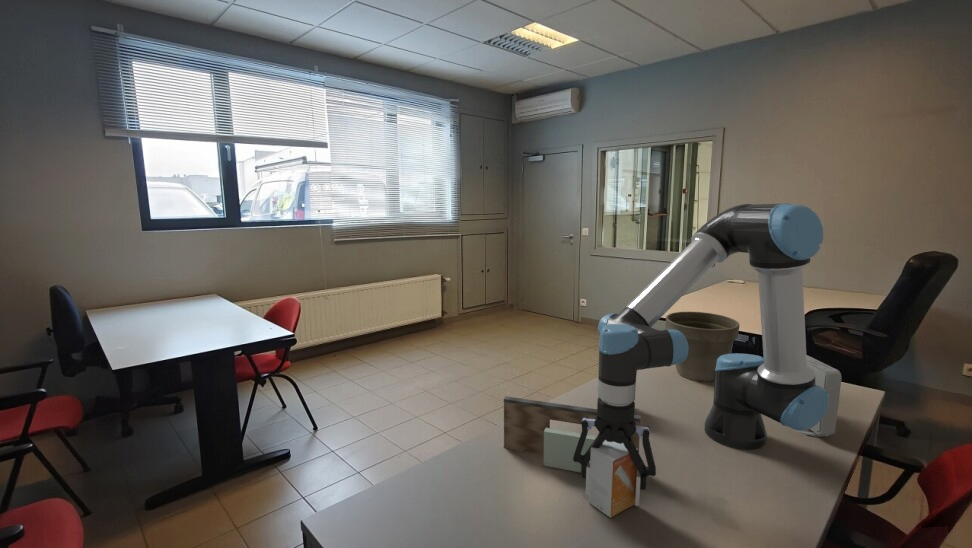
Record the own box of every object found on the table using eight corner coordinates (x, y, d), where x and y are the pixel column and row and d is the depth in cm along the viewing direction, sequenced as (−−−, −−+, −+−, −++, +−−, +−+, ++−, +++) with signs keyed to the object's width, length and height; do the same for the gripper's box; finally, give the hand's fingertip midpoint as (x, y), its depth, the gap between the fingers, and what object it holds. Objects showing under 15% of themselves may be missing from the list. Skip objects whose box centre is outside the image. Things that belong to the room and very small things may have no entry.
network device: (757, 401, 146) (762, 342, 143) (784, 401, 146) (790, 342, 143) (811, 442, 121) (818, 372, 118) (844, 443, 121) (852, 372, 117)
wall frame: (638, 468, 110) (640, 415, 108) (637, 472, 108) (640, 418, 106) (505, 444, 121) (505, 396, 119) (503, 447, 119) (503, 399, 117)
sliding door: (611, 473, 107) (612, 438, 105) (610, 481, 104) (611, 445, 102) (545, 461, 112) (545, 427, 111) (542, 468, 109) (542, 433, 108)
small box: (610, 519, 92) (613, 460, 90) (588, 502, 97) (589, 446, 95) (636, 504, 96) (639, 448, 94) (613, 489, 102) (615, 436, 100)
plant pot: (731, 393, 152) (736, 332, 149) (656, 378, 166) (659, 322, 162) (737, 370, 173) (742, 316, 170) (670, 359, 186) (673, 308, 183)
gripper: (672, 398, 93) (666, 497, 96) (565, 385, 100) (564, 476, 104) (674, 414, 86) (668, 519, 89) (559, 398, 93) (557, 496, 97)
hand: (612, 496), depth 97 cm, fingers closed on small box, 10 cm apart
